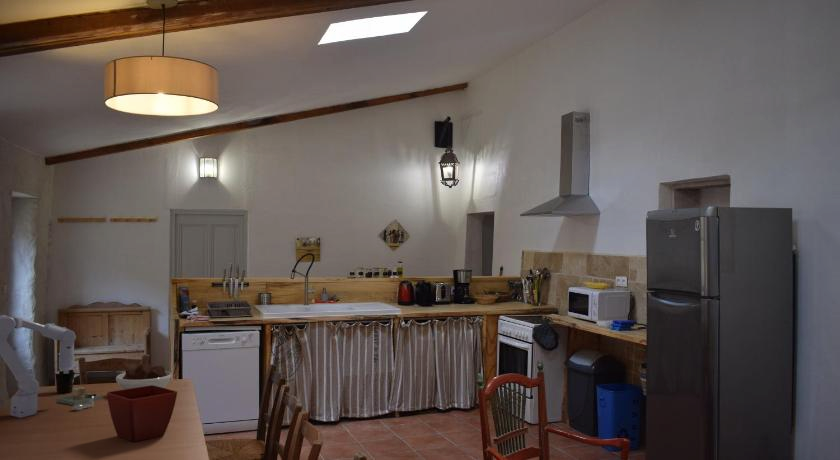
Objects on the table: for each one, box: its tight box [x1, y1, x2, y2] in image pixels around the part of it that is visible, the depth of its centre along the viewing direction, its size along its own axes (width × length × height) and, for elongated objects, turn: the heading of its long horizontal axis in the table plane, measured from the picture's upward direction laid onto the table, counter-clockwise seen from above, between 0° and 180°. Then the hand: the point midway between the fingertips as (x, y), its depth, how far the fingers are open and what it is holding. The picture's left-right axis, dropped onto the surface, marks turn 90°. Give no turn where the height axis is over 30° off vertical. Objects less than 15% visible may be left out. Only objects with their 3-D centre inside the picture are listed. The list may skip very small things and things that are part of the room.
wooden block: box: [72, 386, 86, 401], centre depth 306 cm, size 4×4×6 cm
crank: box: [72, 393, 97, 412], centre depth 292 cm, size 10×4×5 cm, turn 154°
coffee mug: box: [54, 370, 76, 395], centre depth 327 cm, size 12×9×10 cm
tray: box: [56, 392, 102, 406], centre depth 306 cm, size 13×13×2 cm
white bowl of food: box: [115, 363, 172, 390], centre depth 323 cm, size 25×25×15 cm
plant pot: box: [106, 385, 178, 443], centre depth 255 cm, size 19×19×17 cm
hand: (65, 387), depth 295 cm, fingers closed
